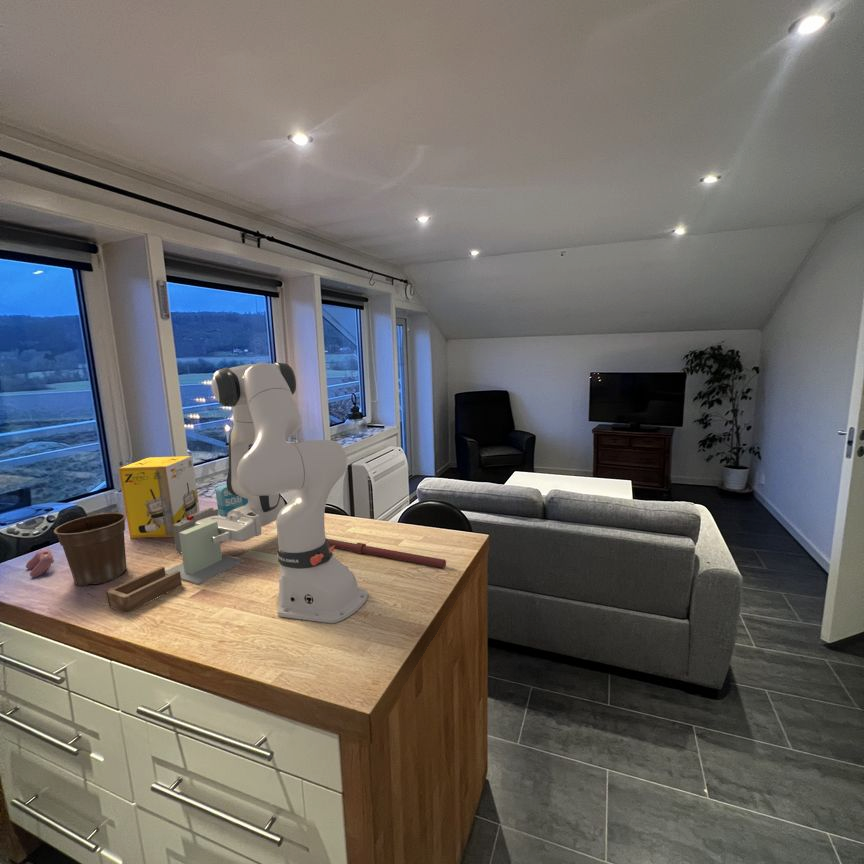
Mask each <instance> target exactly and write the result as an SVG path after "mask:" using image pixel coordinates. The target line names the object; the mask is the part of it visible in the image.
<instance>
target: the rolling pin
mask: <svg viewBox="0 0 864 864" xmlns="http://www.w3.org/2000/svg"><path fill="white" fill-rule="evenodd" d="M326 539H327V541H328V543H329V546H330V547H332V546H334V545H335V548H334V549H341V550H345V551H351V552H354V553H355V554H358V553H359V555H363V554H365V555H366V554H368V555H373V556H379V557H384V558H389V559H394V560H400V561H405V562H408V563H409V562H410V563H415V564H421V565H427V566H431V567H437V568H442V569H445V567H446V566H447V561H446V559H443V558H437V557H431V556H425V555H419V554H417V553H415V554H414V553H411V552H403V551H399V550H393V549H389V548H387V549H386V548H382V547H381V548H380V547H375V546H370V545H367V544H366V543H363V542H357V543H354V542H349V541H342V540H338V539H337V540H336V539H331V538H326ZM362 553H363V554H362Z"/></svg>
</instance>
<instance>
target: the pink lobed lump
mask: <svg viewBox="0 0 864 864" xmlns="http://www.w3.org/2000/svg"><path fill="white" fill-rule="evenodd" d="M53 558H54V555H53V554H52V551H51V550H50V549H48V548H44V549H41V548H40V549H39V551H37V552H36V554H34V556H33V557H31V558H30V560H28V561H27V563H26V564H25V568H26V569H28V570H31V571H30V573H29V575H30V577H31V578H36V577H39V576H40V575H43V573H44V572H46V571H47V570H48V568H49V567H50V566H51V565H52V564H54V563H55V558H54V559H53ZM30 568H32V569H30Z"/></svg>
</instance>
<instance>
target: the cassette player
mask: <svg viewBox="0 0 864 864" xmlns="http://www.w3.org/2000/svg"><path fill="white" fill-rule="evenodd" d="M211 516H220V515H219V514H218V508H214V507H212V506H210V507H207V508H205V509H203V510H200V512H198V513H195V514H193V515H190V516H188V517H187V519H186V520H184V521H181V522H179V523H176V524H174V525H172V526H173V533H174V537H173V538H174V539H173V540H174V545H175V552H176V551H177V552H176V553H181V552H182V551H181V544H180V537H179V532H182V531H184V530H187V529H189V528H192V527H194V526H195V522H196V521H199V520H201V519H205V518H208V517H211Z"/></svg>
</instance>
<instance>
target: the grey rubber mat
mask: <svg viewBox="0 0 864 864" xmlns="http://www.w3.org/2000/svg"><path fill="white" fill-rule="evenodd" d="M221 555H222V560H220V561H218V562H216V563H214V564H212V565H210V566H208V567H206V568H204V569H202V570H200V571H198V572H196V573H194V574H192V575H191V574H187V573H185V572H184V565H183V562H181V563H179V564H177V565H175V566H173V567H170V568H168V569H167V570H166V569H165V574H166V576H167V575H169V574H171V573H173V572H175V571H180V575H181V581H185V582H188V583H191V582H192V583H191V584H196V585H198V584H199V585H202V584H203V583H205V582H207V581H209V580H211V579H213V578H214V576H215V577H216V575H217V576H218V575H220V574H223V573H225V572H226V571H228V570H230V569H232V568H233V566H234V567H235V565H236V566H237V564H238V563H239V564H241V563H243V562H245V559H242V558H237V557H233V556H229V555H225V554H221ZM242 561H243V562H242ZM240 562H241V563H240ZM239 564H238V565H239ZM231 567H232V568H231ZM229 568H230V569H229ZM212 577H213V578H212ZM210 578H211V579H210ZM208 579H209V580H208ZM206 580H207V581H206ZM204 581H205V582H204ZM202 582H203V583H202Z"/></svg>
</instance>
